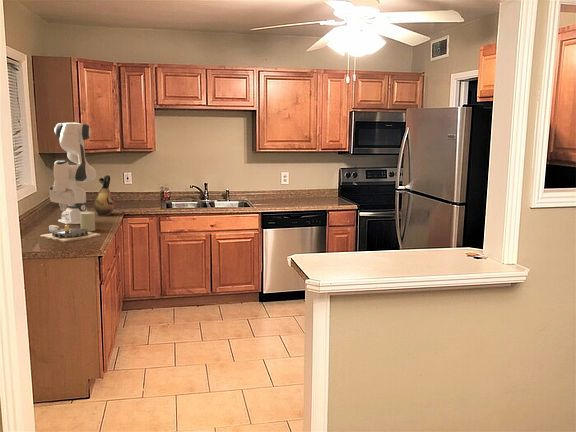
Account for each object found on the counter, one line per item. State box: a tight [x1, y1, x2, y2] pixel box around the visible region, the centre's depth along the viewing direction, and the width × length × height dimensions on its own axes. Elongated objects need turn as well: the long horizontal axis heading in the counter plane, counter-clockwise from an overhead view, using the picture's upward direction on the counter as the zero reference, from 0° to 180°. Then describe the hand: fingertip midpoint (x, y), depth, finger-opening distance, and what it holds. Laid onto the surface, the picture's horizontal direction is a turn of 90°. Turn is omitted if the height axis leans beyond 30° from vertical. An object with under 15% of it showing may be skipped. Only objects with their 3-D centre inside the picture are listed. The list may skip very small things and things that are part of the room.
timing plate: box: [38, 226, 101, 243], centre depth 332 cm, size 25×25×4 cm
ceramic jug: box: [93, 174, 116, 217], centre depth 408 cm, size 17×15×30 cm
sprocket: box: [51, 224, 89, 238], centre depth 331 cm, size 20×20×7 cm
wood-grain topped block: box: [48, 224, 60, 233], centre depth 343 cm, size 6×3×4 cm, turn 57°
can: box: [79, 211, 97, 232], centre depth 351 cm, size 9×9×12 cm
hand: (63, 210), depth 323 cm, fingers closed
